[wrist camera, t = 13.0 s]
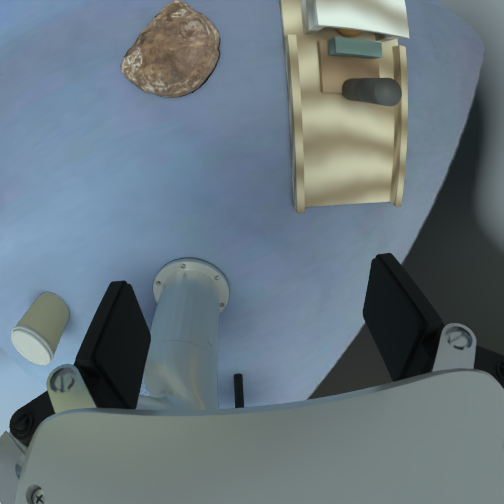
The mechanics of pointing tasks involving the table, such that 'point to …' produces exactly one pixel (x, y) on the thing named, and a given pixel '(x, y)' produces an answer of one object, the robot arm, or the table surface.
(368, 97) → the kicker
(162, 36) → the shell
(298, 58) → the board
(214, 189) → the table surface
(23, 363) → the table surface
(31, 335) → the coffee cup
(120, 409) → the robot arm
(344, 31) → the ball
